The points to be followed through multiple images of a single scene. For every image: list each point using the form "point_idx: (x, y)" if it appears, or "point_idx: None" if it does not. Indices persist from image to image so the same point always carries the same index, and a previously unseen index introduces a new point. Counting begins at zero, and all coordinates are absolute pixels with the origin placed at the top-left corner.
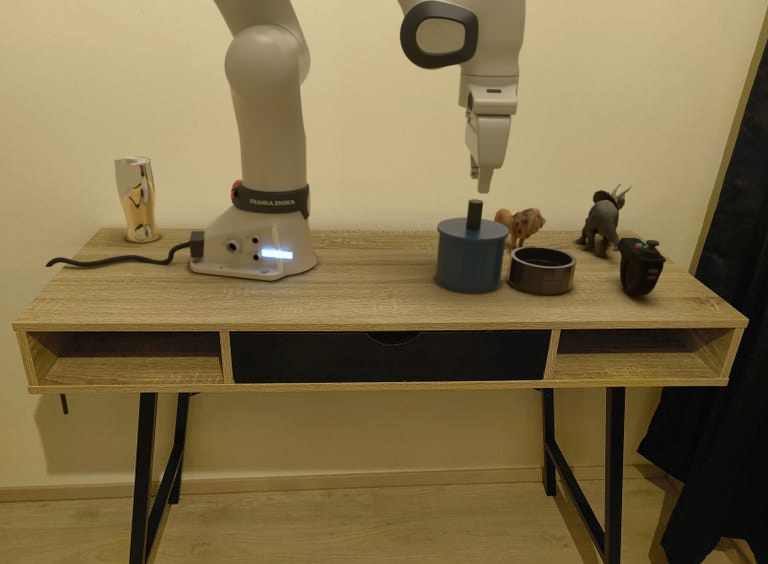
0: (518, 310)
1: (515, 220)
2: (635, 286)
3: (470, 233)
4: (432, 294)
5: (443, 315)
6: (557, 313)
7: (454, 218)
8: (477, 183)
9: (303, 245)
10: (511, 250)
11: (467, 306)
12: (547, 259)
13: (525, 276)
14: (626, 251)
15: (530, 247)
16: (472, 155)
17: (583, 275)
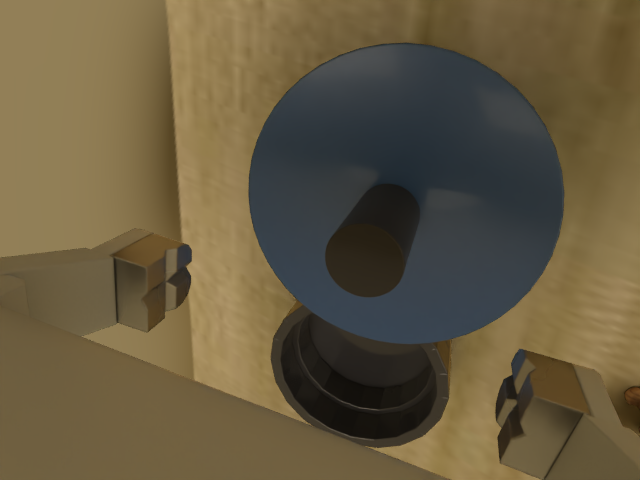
0: (228, 216)
1: None
2: None
3: (314, 174)
4: (330, 20)
5: (197, 19)
6: (216, 285)
7: (555, 180)
8: (154, 255)
9: None
10: (636, 391)
11: (248, 103)
12: (421, 402)
13: None
14: None
15: (437, 388)
16: (107, 359)
17: (409, 444)
